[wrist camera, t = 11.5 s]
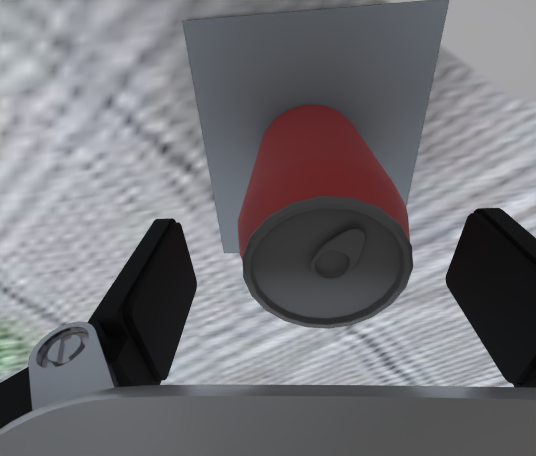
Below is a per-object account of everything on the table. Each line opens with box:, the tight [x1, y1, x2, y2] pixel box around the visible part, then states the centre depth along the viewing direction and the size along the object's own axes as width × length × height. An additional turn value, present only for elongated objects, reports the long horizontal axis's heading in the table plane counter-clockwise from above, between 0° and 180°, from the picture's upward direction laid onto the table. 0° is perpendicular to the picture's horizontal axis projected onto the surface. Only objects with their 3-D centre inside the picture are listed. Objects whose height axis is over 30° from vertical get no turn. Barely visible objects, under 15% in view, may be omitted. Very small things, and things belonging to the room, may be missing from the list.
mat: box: [182, 0, 449, 253], centre depth 20 cm, size 16×14×1 cm
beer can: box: [238, 104, 413, 328], centre depth 15 cm, size 7×7×12 cm
